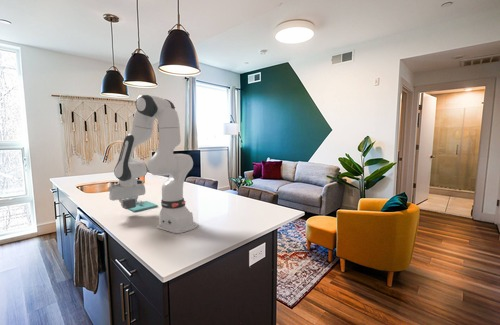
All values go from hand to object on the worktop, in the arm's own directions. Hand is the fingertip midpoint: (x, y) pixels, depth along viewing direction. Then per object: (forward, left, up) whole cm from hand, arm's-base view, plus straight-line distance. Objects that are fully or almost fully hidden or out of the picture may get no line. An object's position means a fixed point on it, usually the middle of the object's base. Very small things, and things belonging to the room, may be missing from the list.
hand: (128, 204), depth 144 cm
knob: (0, 0, -2) cm, 2 cm away
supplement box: (+28, -12, -7) cm, 31 cm away
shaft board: (+11, -12, -7) cm, 18 cm away
